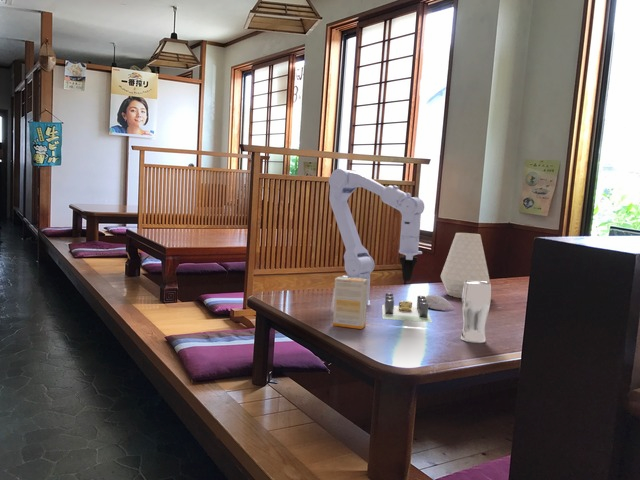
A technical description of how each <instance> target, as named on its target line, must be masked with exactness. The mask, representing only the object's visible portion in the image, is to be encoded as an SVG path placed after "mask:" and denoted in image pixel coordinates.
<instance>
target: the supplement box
mask: <svg viewBox="0 0 640 480" xmlns="http://www.w3.org/2000/svg"><path fill="white" fill-rule="evenodd" d="M342 276H343V275H342ZM342 276H337V277H335V278H334V293H333V312H332V313H333V317H332V319H333V320H332V321H333V322H332V326H334V327H343V328H351V329H359V330H362V329H363V328H365V327H366V325H367V324H366V323H367V307H368V305H367V286H368V279H364V278H353V277H342Z"/></svg>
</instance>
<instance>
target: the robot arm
mask: <svg viewBox="0 0 640 480" xmlns="http://www.w3.org/2000/svg"><path fill="white" fill-rule="evenodd" d="M327 182H328V185H329V198H328V199H329V200H328V201H329V203H330V206H331V209H332V212H333V214H334V219H335V222H336V224H337V227H338V230H339V233H340V236H341V240H342V242H343V245H344V247H345V252H344V254H343V260H344V271H345V272H346V274H347V275H342V277H353V278H364V279H368V286H367V306H370V305H371V300H370V287H371V286H370V285H371V284H370V283H371V273H372V272H373V271H374V269H375V264H376V263H375V260H374V259H373V257H372V256H371V255H370V253H369V251H368V249H367V248H366V247H365V246H364V245H363V244H362V240H361V239H360V236H359V233H358V229H357V226H356V224H355V221H354V218H353V215H352V212H351V209H350V206H349V203H348V201H349V198H350V196H351V195H352V194H353V193H354V191H355V190H356V189H357V188H363V189H365V190H366V191H369V192H371V193H373V194H375V195H376V196H377V195H378V196H379V197H380V199H381V202H382V203H383V204H386V205H388V206H389V207H392V208H393V209H396V210H397V211H399V212H400V214H401V222H400V225H401V226H400V237H399V249H398V253H399V254H401V255H404V256H399V257H398V259H399V262H400V265H401V273H402V280H403V281H407V282H410V281H411V279H412V276H413V273H414V268H415V267H416V264H417V263H418V261H419V259H418V257H417V256H416V255H422V254H423V251H421V250H419V245H420V232H421V218H422V217H421V214H422V213H423V212H424V210H425V203H424V201H423V200H422V199H421V198H419V196H413V197H412V194H411V193H410V192H404V191H402V190H401V189H399V186H397V185H395V184H394V185H388V186H384V185H383V184H381V183H380V182H378V181H376V180H374V179H373V178H371V177H369V176H367V174H364V173H362V172H357V171H356V170H353V169H352V170H350V169H349V170H348V169H342V168H336V169H334V170H333V171H332V173H330V176H329V178H328V181H327Z"/></svg>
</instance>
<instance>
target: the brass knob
mask: <svg viewBox="0 0 640 480" xmlns="http://www.w3.org/2000/svg"><path fill="white" fill-rule="evenodd" d="M398 306H399V310H400V311H405V312H410V311H412V307H413V302H412V301H408V300H399V301H398Z"/></svg>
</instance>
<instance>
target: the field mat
mask: <svg viewBox="0 0 640 480" xmlns="http://www.w3.org/2000/svg"><path fill="white" fill-rule="evenodd" d="M381 311H382V312H381V313H382V315H381V317H382V319H383V320H393V321H407V322H417V323H418V322H419V323H433V320H432V318H431V315H430V313H429V312H428V317H427V318H422V317H419V313H418V309H417V306H412V311H410V312H405V311H400V310H399V305H394V309H393V314H385V304H382V307H381Z"/></svg>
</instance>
